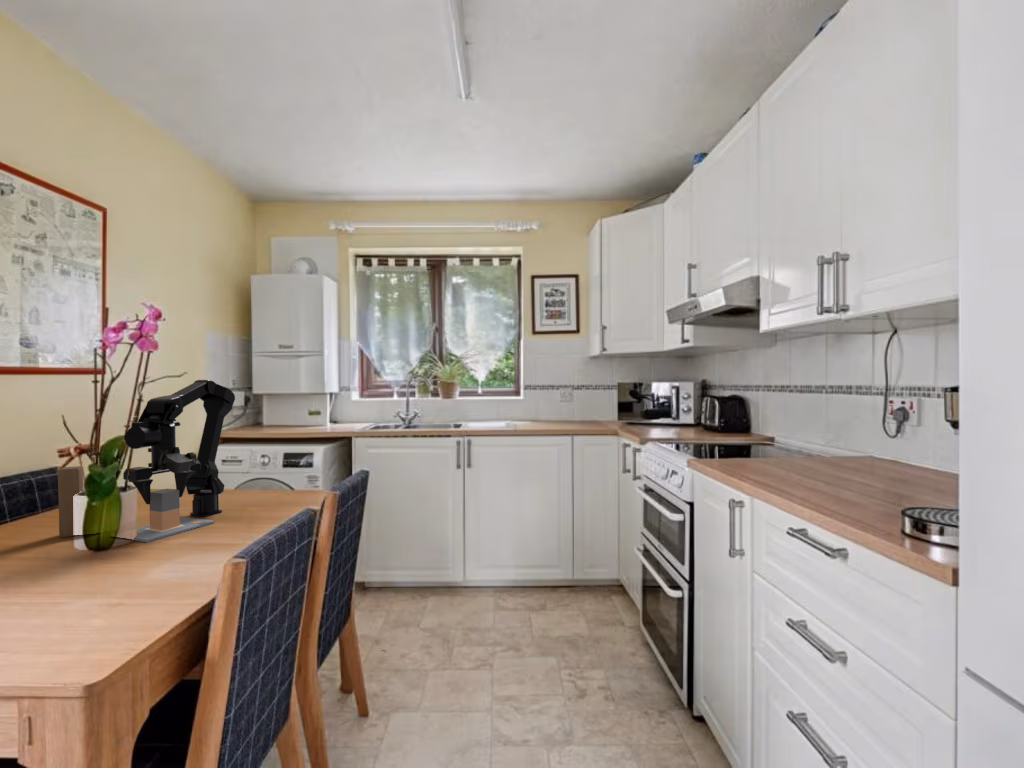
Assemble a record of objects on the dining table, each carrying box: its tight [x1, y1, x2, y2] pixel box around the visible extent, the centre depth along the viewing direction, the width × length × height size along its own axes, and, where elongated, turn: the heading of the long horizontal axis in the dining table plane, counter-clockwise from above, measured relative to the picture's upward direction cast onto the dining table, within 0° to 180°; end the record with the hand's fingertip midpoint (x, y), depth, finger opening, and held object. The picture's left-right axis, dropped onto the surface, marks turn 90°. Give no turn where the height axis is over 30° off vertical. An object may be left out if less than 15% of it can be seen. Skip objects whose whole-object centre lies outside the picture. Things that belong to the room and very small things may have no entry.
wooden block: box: [57, 465, 84, 539], centre depth 151 cm, size 9×4×18 cm, turn 115°
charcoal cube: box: [149, 488, 181, 512], centre depth 155 cm, size 5×5×5 cm
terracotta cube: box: [149, 508, 180, 530], centre depth 155 cm, size 5×5×5 cm
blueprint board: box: [133, 515, 216, 543], centre depth 155 cm, size 20×14×1 cm
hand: (164, 500), depth 155 cm, fingers open, 9 cm apart
